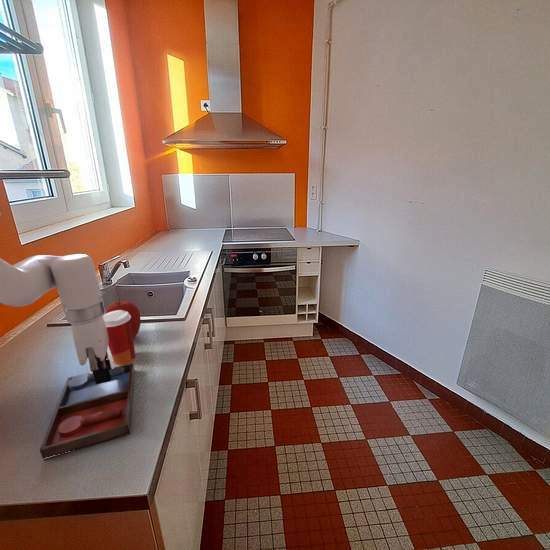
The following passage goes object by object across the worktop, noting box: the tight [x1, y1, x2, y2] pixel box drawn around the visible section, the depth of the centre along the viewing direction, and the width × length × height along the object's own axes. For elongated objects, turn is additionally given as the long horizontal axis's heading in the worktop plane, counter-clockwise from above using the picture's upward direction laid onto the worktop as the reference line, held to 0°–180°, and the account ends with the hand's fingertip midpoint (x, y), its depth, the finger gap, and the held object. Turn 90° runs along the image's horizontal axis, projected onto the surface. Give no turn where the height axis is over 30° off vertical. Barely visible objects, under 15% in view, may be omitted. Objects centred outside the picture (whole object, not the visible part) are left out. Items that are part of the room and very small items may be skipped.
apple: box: [105, 298, 142, 339], centre depth 94 cm, size 10×10×14 cm
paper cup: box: [103, 310, 136, 366], centre depth 84 cm, size 8×8×14 cm
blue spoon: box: [68, 366, 124, 391], centre depth 72 cm, size 12×4×2 cm, turn 111°
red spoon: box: [58, 407, 123, 437], centre depth 64 cm, size 12×4×2 cm, turn 111°
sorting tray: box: [39, 362, 136, 459], centre depth 68 cm, size 15×22×3 cm
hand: (104, 377), depth 73 cm, fingers closed on blue spoon, 2 cm apart
